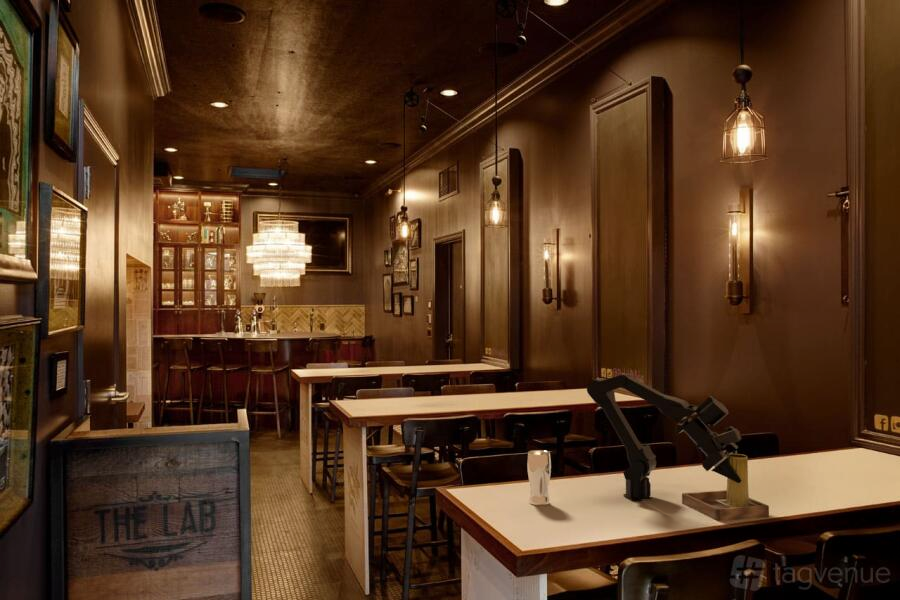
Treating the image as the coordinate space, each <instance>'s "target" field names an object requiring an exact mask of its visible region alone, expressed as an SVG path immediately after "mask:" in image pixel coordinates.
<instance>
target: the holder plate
mask: <svg viewBox="0 0 900 600" xmlns="http://www.w3.org/2000/svg"><path fill="white" fill-rule="evenodd" d="M749 506H760V505H758V504H755V503H753V502H750V501H749ZM715 507H716V508H718V509H720V508H733V506H730V505H728V504H726V499H723V500H715Z"/></svg>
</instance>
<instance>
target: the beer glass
mask: <svg viewBox="0 0 900 600" xmlns="http://www.w3.org/2000/svg"><path fill="white" fill-rule="evenodd" d="M526 465H527V475H528V483H529V488H530V491H529V492H530V494H529V499H528V500H529V501H528V502H529V504H530V505H532V504H533V505H532V506H538V505H540V506H541V505H543V506H548V505H550V498H549V485H550V481H551V473H552V470H551V469H552V460H551V452H550V451H548V450H542V449H540V450H539V449H537V450H535V449H534V450H533V449H532V450H529V451H528V453H527V463H526ZM540 506H539V507H540Z"/></svg>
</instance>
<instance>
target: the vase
mask: <svg viewBox="0 0 900 600" xmlns="http://www.w3.org/2000/svg"><path fill="white" fill-rule="evenodd" d="M728 456H730V465H731V466H732V467H733V469H734V470H735V472H736V473H737V474H738V476H739V477H740V479H741V480H742V481H741V482H740V483H737V482H735V481H733V480H731V479H729V478H727V477H726V478H727V481H726V490H727V496H726V504H728V505H730V506H733V507H747V506H749V498H750V495H749V494H750V493H749V470H748V468H749V466H748V463H749V462H748V455H745V454H740V453H737V454H728ZM728 456H727V457H728Z"/></svg>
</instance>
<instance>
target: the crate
mask: <svg viewBox="0 0 900 600" xmlns="http://www.w3.org/2000/svg"><path fill="white" fill-rule="evenodd" d="M726 496H727V489H726V490H725V489H724V490H711V491H695V492H683V493H682V495H681V504H682V505H684V506H687V507H688V508H689V509H692V510H694V511H696V512H698V513H700V514H703V515H704V516H706V517H708V518H710V519H712V520H714V521H716V522H722V521H733V520H745V519H747V520H748V519H761V518H770V506H769V505H768V504H765V503H763V502H760V501H759V500H758V501H757V500H756V499H753V498H750V497H749V501H750V502H753V503H755V504H758V505H760V506H747V507H733V508H720V509H718V508H716V507H715V500H723V499H726Z"/></svg>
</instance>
